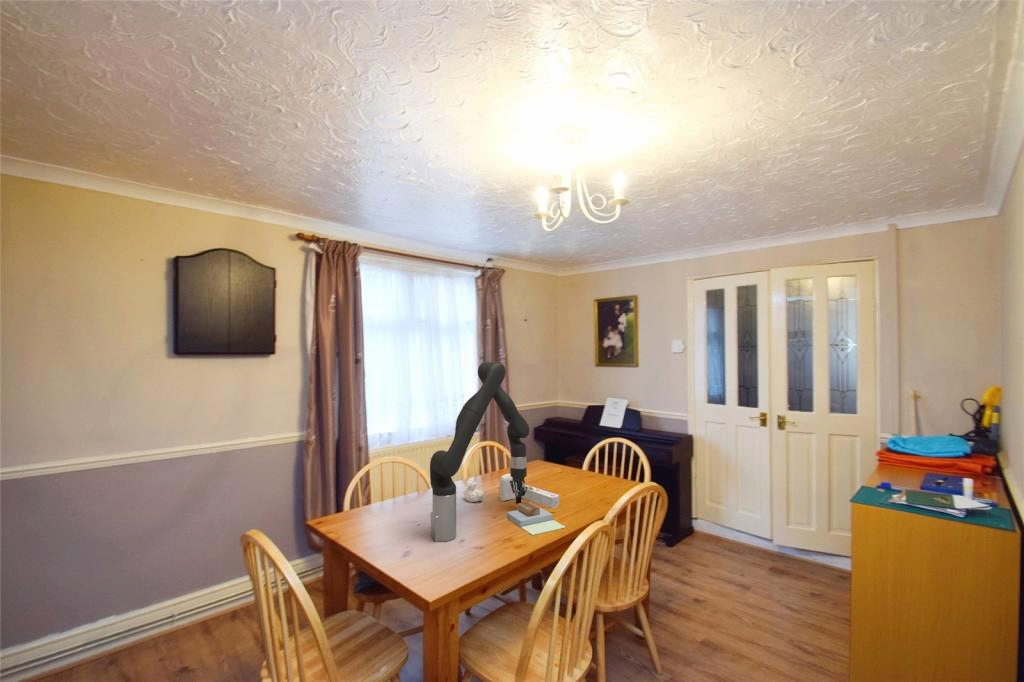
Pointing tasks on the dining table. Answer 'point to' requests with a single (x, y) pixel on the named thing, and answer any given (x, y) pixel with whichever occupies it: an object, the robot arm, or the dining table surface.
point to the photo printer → (506, 488)
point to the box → (542, 497)
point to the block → (528, 509)
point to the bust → (473, 492)
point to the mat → (543, 527)
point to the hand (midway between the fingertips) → (518, 504)
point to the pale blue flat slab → (525, 521)
